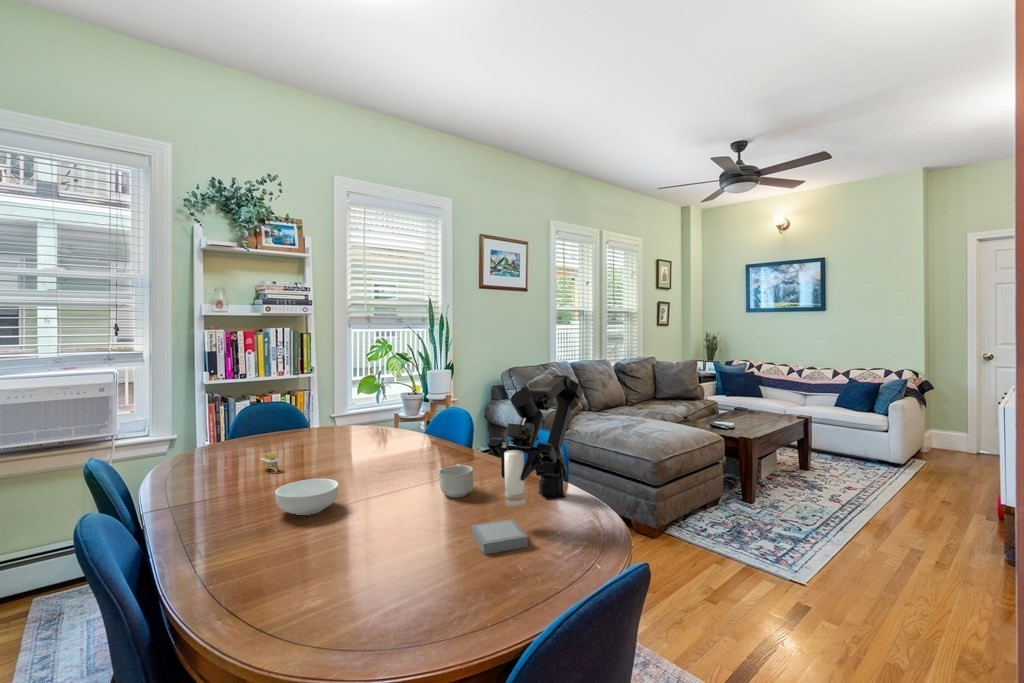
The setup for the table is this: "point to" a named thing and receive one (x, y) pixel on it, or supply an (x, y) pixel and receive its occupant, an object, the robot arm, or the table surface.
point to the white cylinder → (514, 477)
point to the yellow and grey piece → (270, 460)
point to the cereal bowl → (307, 496)
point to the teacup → (456, 480)
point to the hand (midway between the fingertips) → (512, 478)
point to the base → (499, 536)
